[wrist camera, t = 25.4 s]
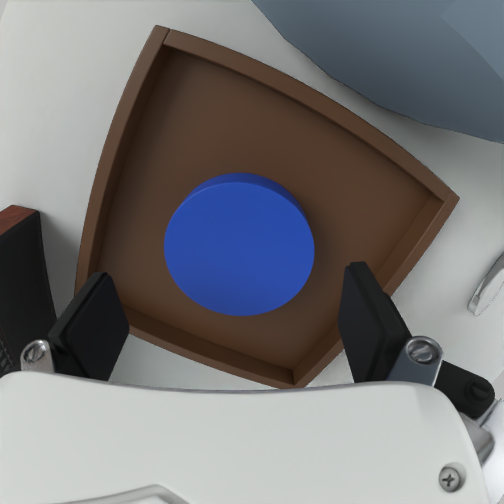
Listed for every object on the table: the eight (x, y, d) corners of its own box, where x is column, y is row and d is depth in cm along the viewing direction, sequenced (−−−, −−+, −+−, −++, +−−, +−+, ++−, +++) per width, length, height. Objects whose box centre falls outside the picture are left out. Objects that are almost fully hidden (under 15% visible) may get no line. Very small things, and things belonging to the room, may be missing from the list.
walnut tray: (86, 287, 18) (72, 305, 16) (169, 34, 11) (154, 24, 9) (295, 372, 21) (297, 394, 19) (440, 186, 14) (460, 198, 12)
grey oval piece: (504, 238, 15) (513, 244, 14) (514, 253, 16) (522, 259, 15) (461, 302, 17) (469, 311, 16) (473, 313, 18) (480, 321, 17)
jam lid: (295, 301, 17) (298, 322, 15) (175, 288, 17) (167, 308, 15) (320, 182, 14) (328, 193, 12) (174, 166, 13) (162, 176, 12)
